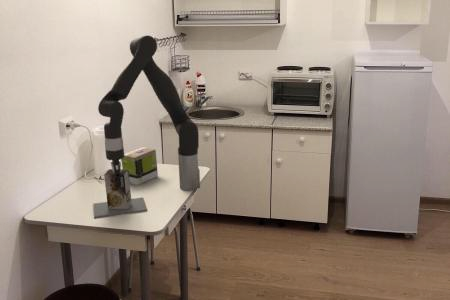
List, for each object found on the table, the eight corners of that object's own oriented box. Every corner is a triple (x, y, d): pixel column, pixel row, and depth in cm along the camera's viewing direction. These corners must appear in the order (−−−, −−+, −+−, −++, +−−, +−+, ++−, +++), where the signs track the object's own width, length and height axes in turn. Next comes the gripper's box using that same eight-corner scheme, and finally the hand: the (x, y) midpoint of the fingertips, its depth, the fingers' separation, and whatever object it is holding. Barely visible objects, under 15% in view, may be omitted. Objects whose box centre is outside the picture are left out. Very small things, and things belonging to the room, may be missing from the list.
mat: (143, 198, 221) (143, 197, 221) (147, 211, 208) (147, 209, 208) (93, 205, 215) (93, 203, 215) (94, 218, 202) (94, 216, 202)
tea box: (144, 173, 254) (142, 146, 250) (158, 176, 248) (156, 149, 244) (122, 181, 242) (120, 153, 238) (137, 185, 237) (134, 157, 232)
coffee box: (132, 203, 214) (129, 169, 209) (127, 209, 208) (124, 174, 203) (112, 203, 215) (108, 168, 210) (107, 209, 209) (103, 173, 204)
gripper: (104, 143, 209) (107, 178, 214) (106, 153, 196) (109, 190, 201) (122, 141, 211) (125, 176, 216) (125, 151, 198) (128, 188, 203)
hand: (117, 183), depth 208 cm, fingers open, 8 cm apart
